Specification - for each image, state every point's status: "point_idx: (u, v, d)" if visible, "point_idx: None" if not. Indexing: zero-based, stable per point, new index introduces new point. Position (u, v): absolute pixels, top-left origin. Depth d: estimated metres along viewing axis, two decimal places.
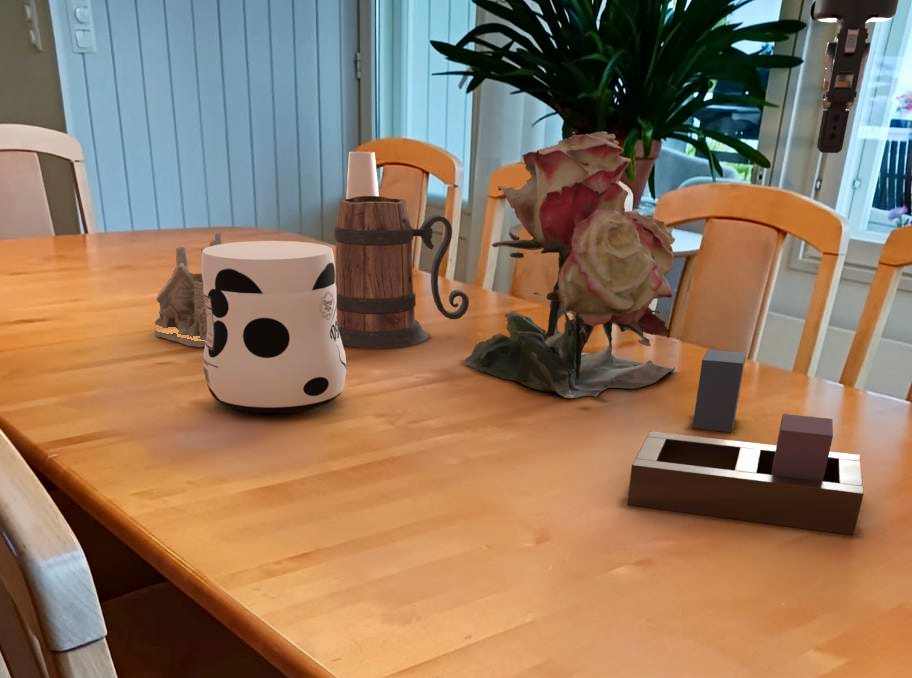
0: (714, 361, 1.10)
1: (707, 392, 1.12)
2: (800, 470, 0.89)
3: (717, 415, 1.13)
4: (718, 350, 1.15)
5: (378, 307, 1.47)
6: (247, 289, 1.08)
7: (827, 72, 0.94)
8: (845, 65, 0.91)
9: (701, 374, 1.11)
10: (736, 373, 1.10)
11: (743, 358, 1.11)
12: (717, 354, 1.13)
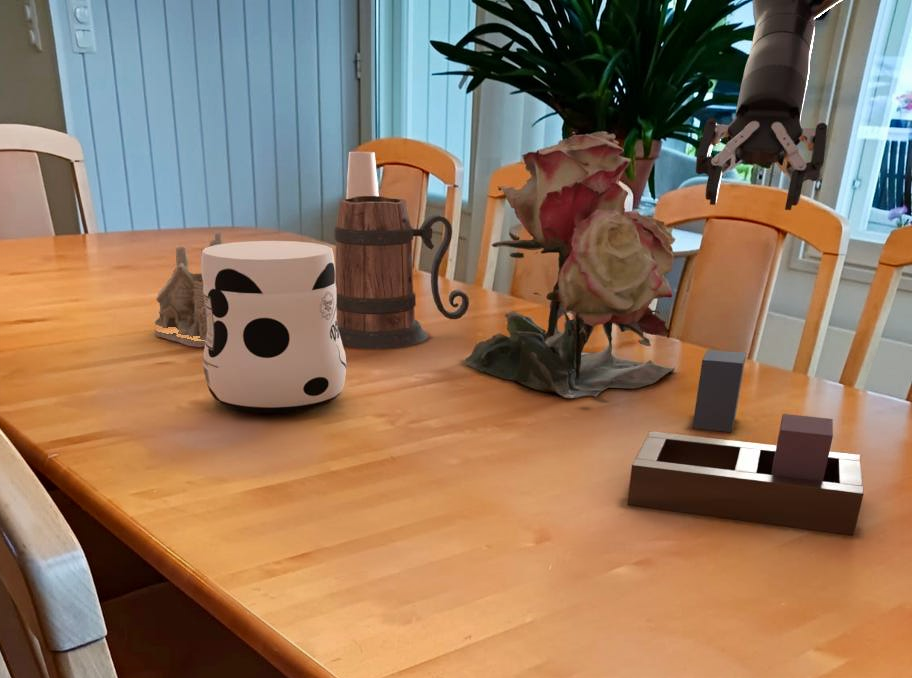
0: (714, 361, 1.10)
1: (707, 392, 1.12)
2: (800, 470, 0.89)
3: (717, 415, 1.13)
4: (718, 350, 1.15)
5: (378, 307, 1.47)
6: (247, 289, 1.08)
7: None
8: None
9: (701, 374, 1.11)
10: (736, 373, 1.10)
11: (743, 358, 1.11)
12: (717, 354, 1.13)
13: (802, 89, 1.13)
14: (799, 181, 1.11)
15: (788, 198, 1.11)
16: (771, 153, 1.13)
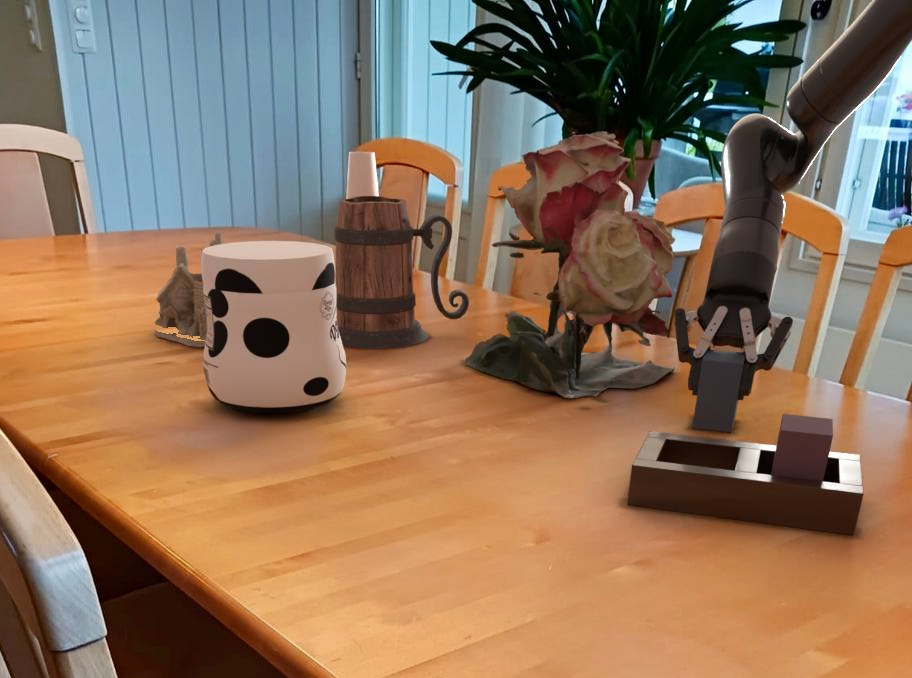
0: (714, 361, 1.10)
1: (707, 392, 1.12)
2: (800, 470, 0.89)
3: (717, 415, 1.13)
4: (718, 350, 1.15)
5: (378, 307, 1.47)
6: (247, 289, 1.08)
7: None
8: (676, 337, 1.16)
9: (701, 374, 1.11)
10: (736, 373, 1.10)
11: (743, 358, 1.11)
12: (717, 354, 1.13)
13: (771, 273, 1.14)
14: (750, 373, 1.12)
15: (739, 391, 1.11)
16: (739, 338, 1.13)
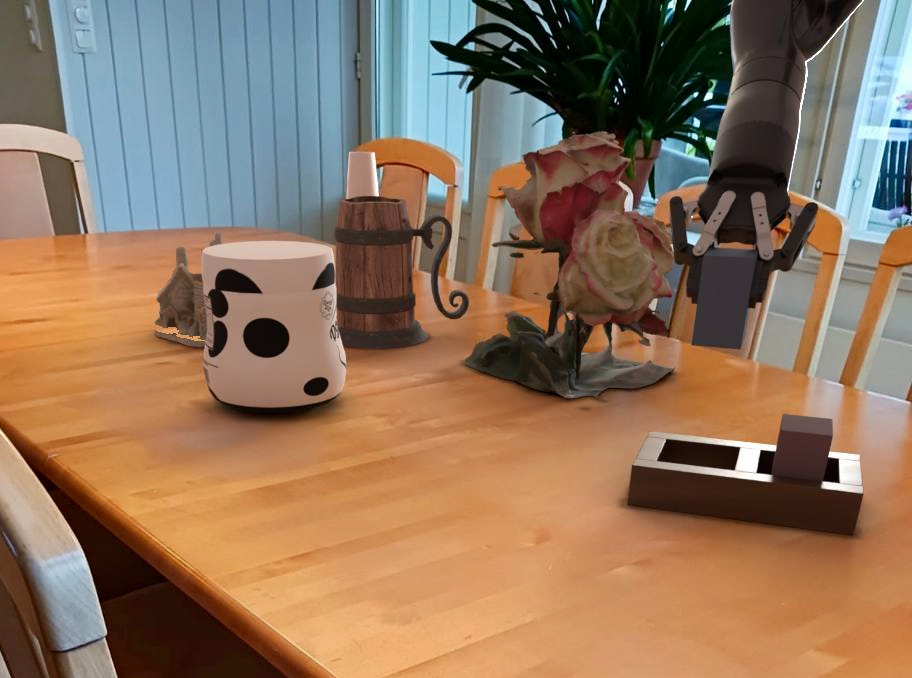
0: (719, 256, 0.87)
1: (710, 297, 0.89)
2: (800, 470, 0.89)
3: (723, 327, 0.90)
4: None
5: (378, 307, 1.47)
6: (247, 289, 1.08)
7: None
8: (672, 233, 0.93)
9: (702, 274, 0.88)
10: (746, 271, 0.87)
11: (755, 254, 0.88)
12: (723, 251, 0.90)
13: (790, 150, 0.90)
14: (764, 273, 0.88)
15: (750, 295, 0.88)
16: (750, 230, 0.90)
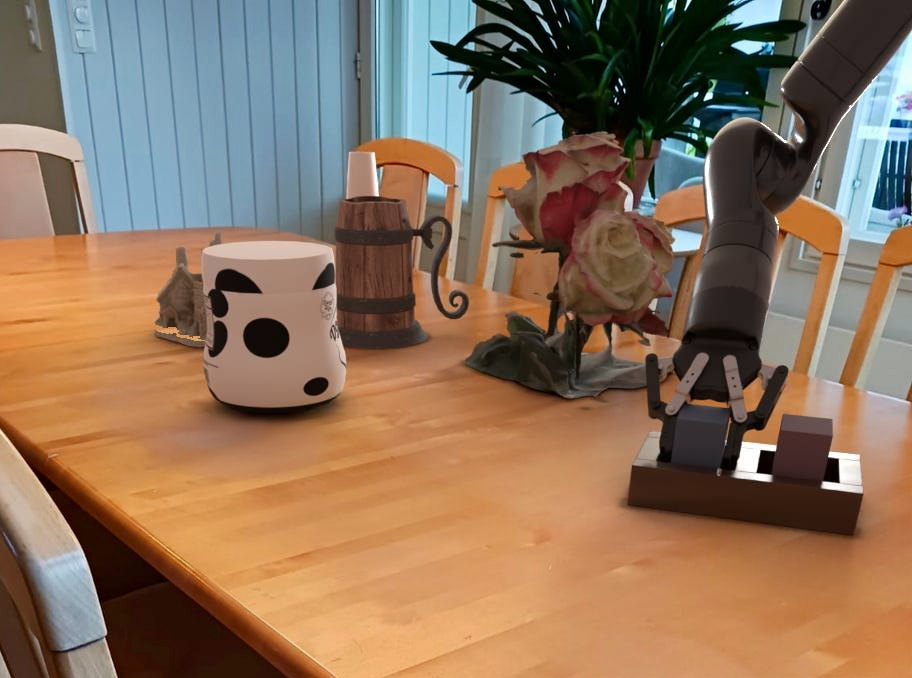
0: (691, 420, 0.90)
1: (684, 457, 0.92)
2: (800, 470, 0.89)
3: None
4: None
5: (378, 307, 1.47)
6: (247, 289, 1.08)
7: None
8: None
9: (676, 436, 0.91)
10: (718, 435, 0.90)
11: (727, 416, 0.91)
12: (696, 410, 0.93)
13: (761, 313, 0.94)
14: (738, 435, 0.92)
15: (724, 457, 0.91)
16: (723, 392, 0.93)
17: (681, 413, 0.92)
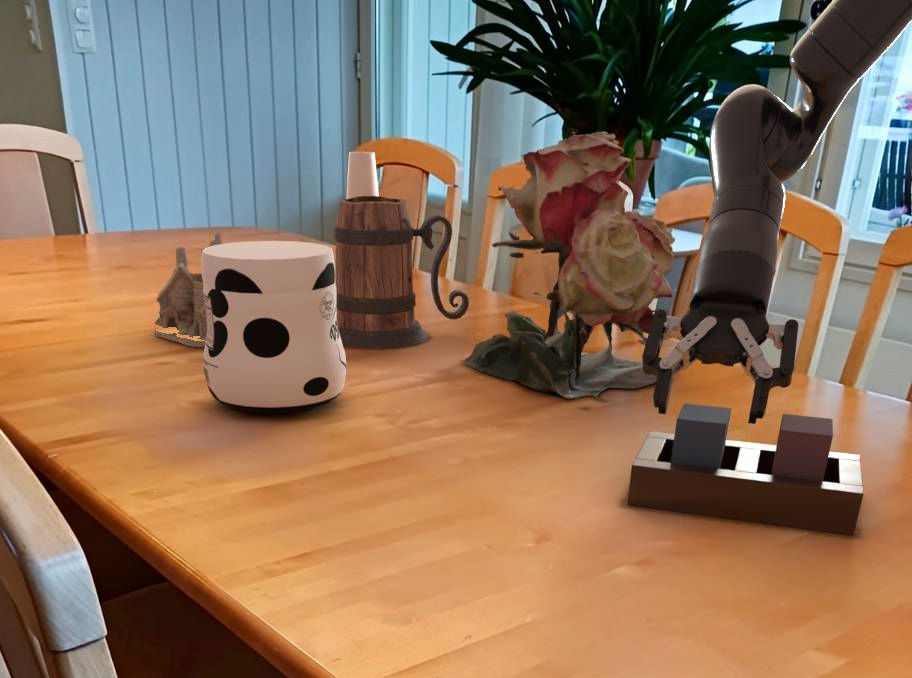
0: (691, 420, 0.90)
1: (684, 457, 0.92)
2: (800, 470, 0.89)
3: None
4: None
5: (378, 307, 1.47)
6: (247, 289, 1.08)
7: None
8: None
9: (676, 436, 0.91)
10: (718, 435, 0.90)
11: (727, 416, 0.91)
12: (696, 410, 0.93)
13: (769, 277, 0.94)
14: (764, 391, 0.92)
15: (751, 413, 0.92)
16: (731, 355, 0.94)
17: (681, 413, 0.92)
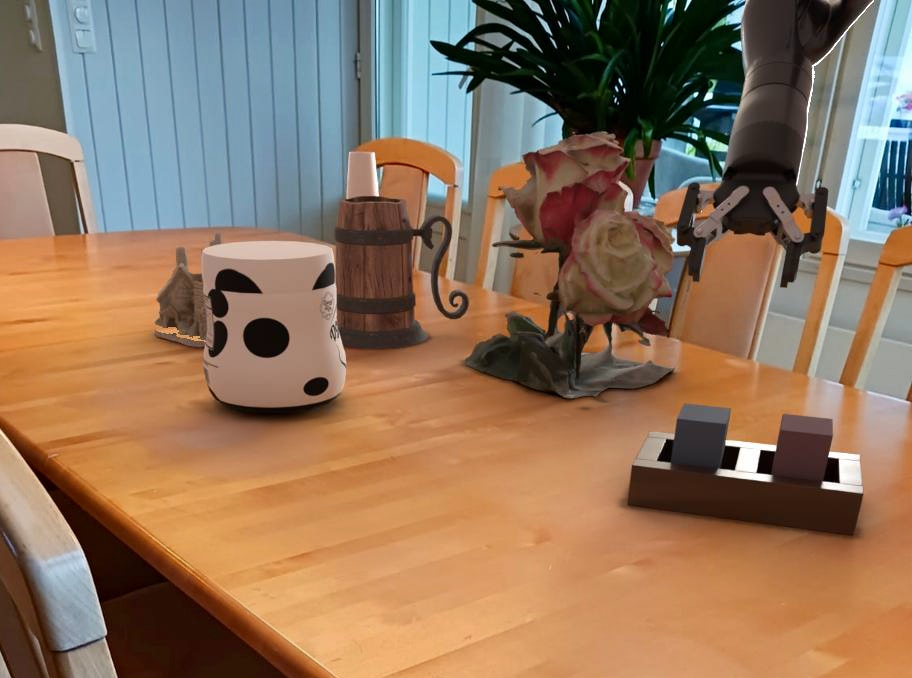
0: (691, 420, 0.90)
1: (684, 457, 0.92)
2: (800, 470, 0.89)
3: None
4: None
5: (378, 307, 1.47)
6: (247, 289, 1.08)
7: None
8: None
9: (676, 436, 0.91)
10: (718, 435, 0.90)
11: (727, 416, 0.91)
12: (696, 410, 0.93)
13: (799, 148, 0.98)
14: (796, 254, 0.96)
15: (783, 275, 0.95)
16: (763, 222, 0.97)
17: (681, 413, 0.92)
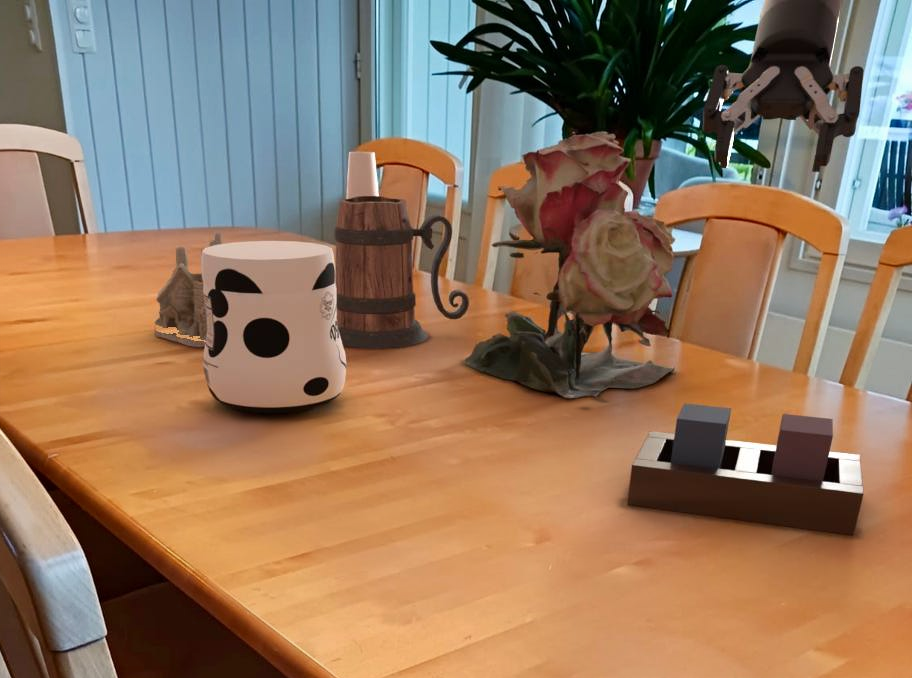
0: (691, 420, 0.90)
1: (684, 457, 0.92)
2: (800, 470, 0.89)
3: None
4: None
5: (378, 307, 1.47)
6: (247, 289, 1.08)
7: None
8: None
9: (676, 436, 0.91)
10: (718, 435, 0.90)
11: (727, 416, 0.91)
12: (696, 410, 0.93)
13: (832, 27, 0.93)
14: (829, 136, 0.91)
15: (816, 156, 0.90)
16: (794, 104, 0.93)
17: (681, 413, 0.92)
